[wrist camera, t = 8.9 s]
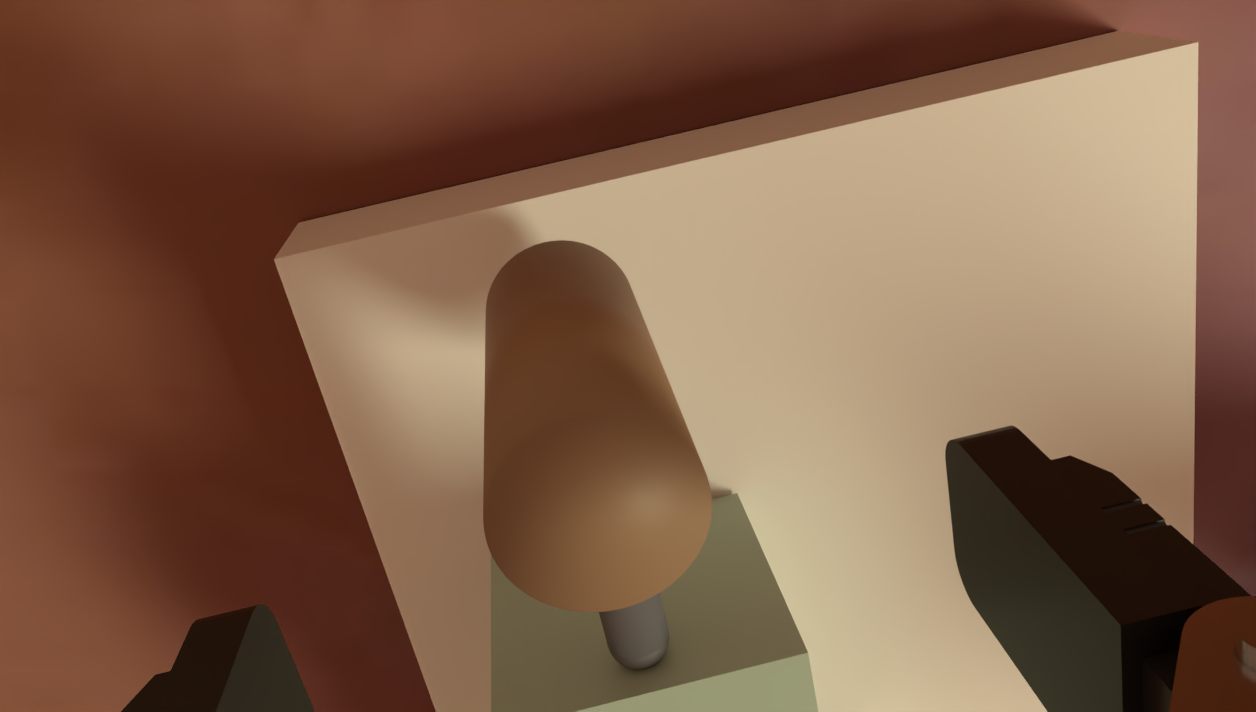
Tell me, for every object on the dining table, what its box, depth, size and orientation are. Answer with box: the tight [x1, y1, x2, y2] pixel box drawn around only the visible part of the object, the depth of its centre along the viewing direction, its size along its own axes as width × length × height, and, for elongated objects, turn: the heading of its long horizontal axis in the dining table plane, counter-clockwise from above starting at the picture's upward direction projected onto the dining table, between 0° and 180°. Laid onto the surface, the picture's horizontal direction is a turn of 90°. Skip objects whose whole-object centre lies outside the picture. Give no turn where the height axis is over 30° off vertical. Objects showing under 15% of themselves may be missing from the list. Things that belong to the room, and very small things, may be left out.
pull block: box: [483, 240, 818, 712], centre depth 20 cm, size 16×6×10 cm, turn 12°
